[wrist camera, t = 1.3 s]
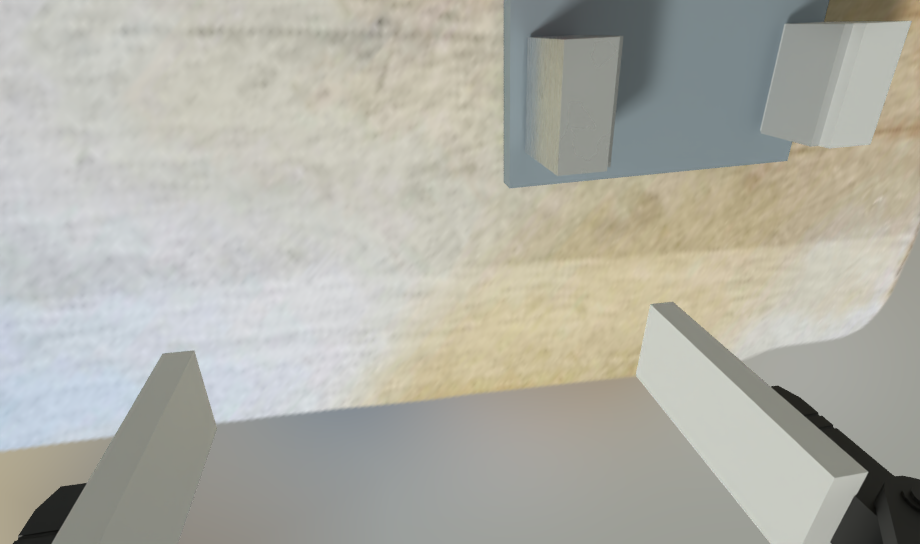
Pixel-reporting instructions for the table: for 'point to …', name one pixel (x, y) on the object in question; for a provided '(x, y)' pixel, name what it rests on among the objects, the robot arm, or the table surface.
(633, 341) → the table surface
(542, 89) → the block
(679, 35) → the vise bed
